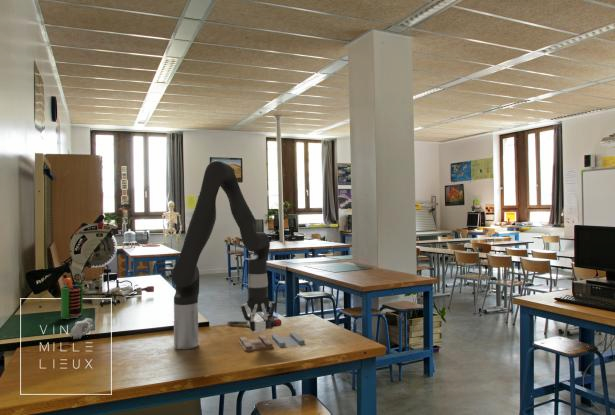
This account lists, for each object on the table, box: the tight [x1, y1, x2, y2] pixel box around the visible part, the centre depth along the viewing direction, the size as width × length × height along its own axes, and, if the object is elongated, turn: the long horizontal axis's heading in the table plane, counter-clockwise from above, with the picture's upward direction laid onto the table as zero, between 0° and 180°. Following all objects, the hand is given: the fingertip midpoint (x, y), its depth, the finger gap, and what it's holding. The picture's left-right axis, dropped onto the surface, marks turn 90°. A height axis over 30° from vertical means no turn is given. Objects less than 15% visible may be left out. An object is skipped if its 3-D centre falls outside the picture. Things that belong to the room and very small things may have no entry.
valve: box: [227, 316, 282, 329], centre depth 209 cm, size 6×26×15 cm
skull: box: [69, 317, 94, 340], centre depth 194 cm, size 8×9×12 cm
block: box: [246, 312, 267, 334], centre depth 175 cm, size 14×4×4 cm, turn 20°
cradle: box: [238, 334, 274, 353], centre depth 175 cm, size 13×11×3 cm
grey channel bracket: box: [270, 331, 306, 348], centre depth 179 cm, size 12×11×3 cm
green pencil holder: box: [60, 277, 84, 318], centre depth 227 cm, size 10×9×20 cm
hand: (258, 330), depth 171 cm, fingers closed on block, 4 cm apart
